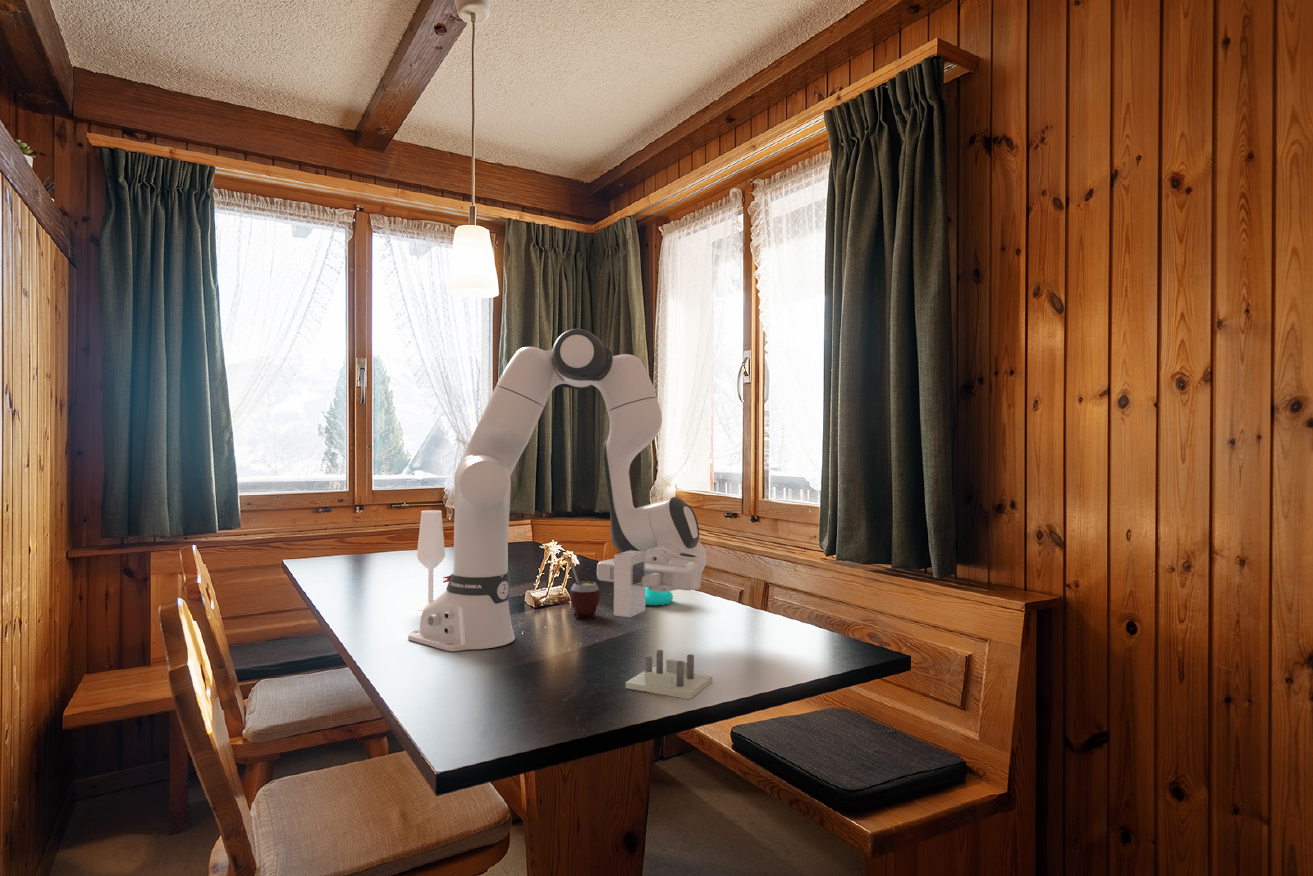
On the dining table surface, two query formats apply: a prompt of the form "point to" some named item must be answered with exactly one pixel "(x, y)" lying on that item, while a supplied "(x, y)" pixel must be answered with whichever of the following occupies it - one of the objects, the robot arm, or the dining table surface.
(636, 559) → the block
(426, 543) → the champagne flute
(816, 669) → the dining table surface
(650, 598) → the donuts
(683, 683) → the peg board
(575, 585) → the mate gourd
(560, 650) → the dining table surface
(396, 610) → the dining table surface
